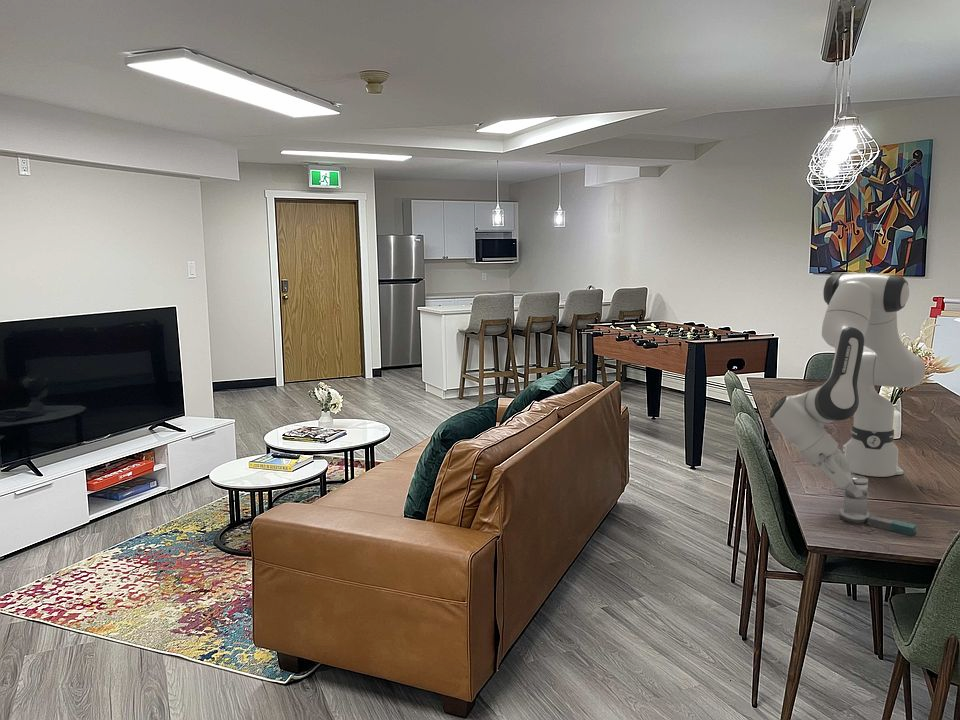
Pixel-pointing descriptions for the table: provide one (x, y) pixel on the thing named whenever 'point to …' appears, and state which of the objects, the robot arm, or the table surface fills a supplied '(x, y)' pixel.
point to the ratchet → (878, 522)
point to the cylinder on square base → (854, 503)
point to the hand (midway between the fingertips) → (859, 489)
